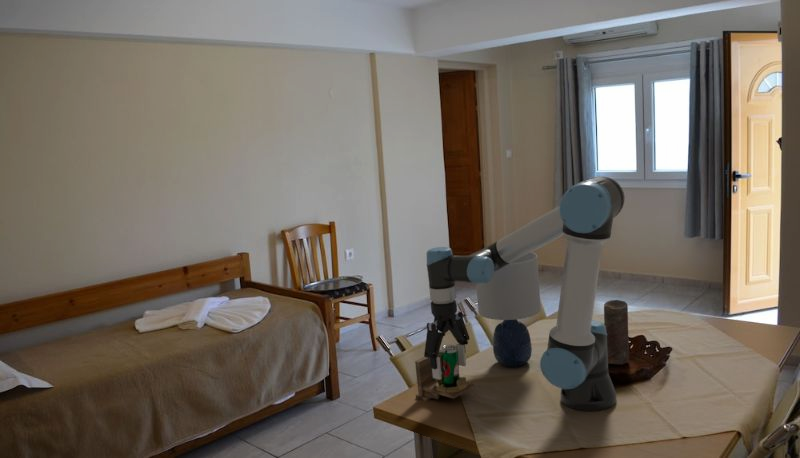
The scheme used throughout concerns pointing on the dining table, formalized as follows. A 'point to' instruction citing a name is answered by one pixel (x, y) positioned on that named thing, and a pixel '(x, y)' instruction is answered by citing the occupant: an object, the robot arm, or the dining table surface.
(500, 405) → the dining table surface
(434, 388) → the bracket
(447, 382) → the soda can
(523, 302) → the lamp
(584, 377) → the robot arm
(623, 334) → the candle
